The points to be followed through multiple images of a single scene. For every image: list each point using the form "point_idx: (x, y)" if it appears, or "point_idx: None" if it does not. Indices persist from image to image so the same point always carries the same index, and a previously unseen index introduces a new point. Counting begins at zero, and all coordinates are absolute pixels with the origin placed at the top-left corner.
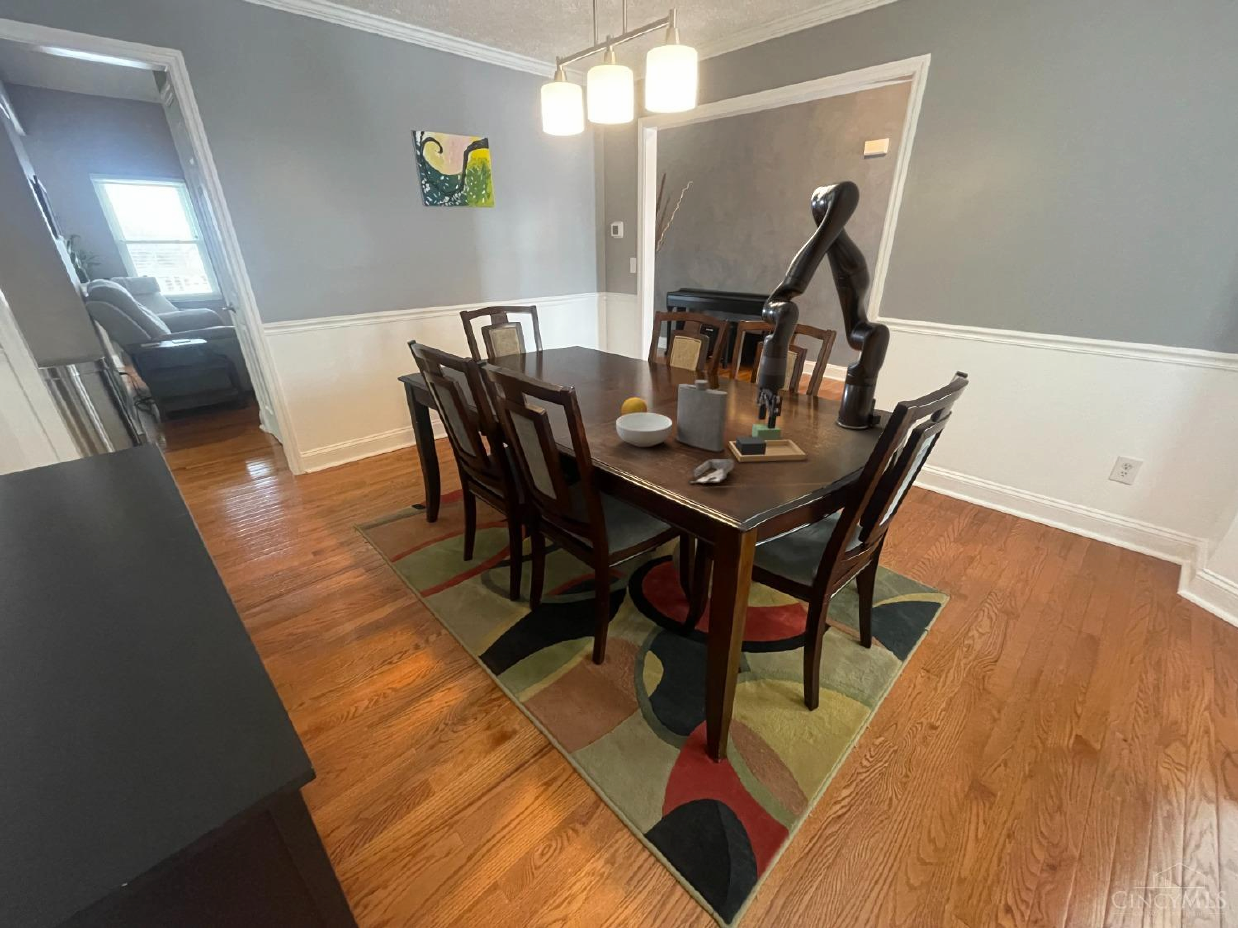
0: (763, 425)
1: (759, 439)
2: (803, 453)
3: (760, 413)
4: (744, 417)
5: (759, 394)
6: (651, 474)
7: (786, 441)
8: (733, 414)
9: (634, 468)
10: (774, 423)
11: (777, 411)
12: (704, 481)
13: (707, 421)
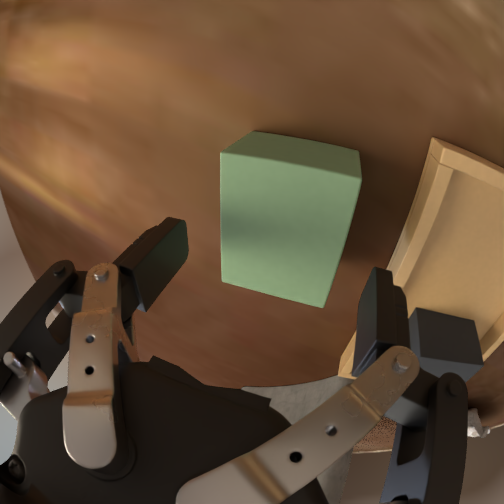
0: (249, 242)
1: (443, 370)
2: None
3: (164, 278)
4: (55, 166)
5: (55, 367)
6: (384, 445)
7: (448, 179)
8: (44, 190)
9: (354, 448)
10: (404, 316)
11: (400, 396)
12: (467, 435)
13: None
